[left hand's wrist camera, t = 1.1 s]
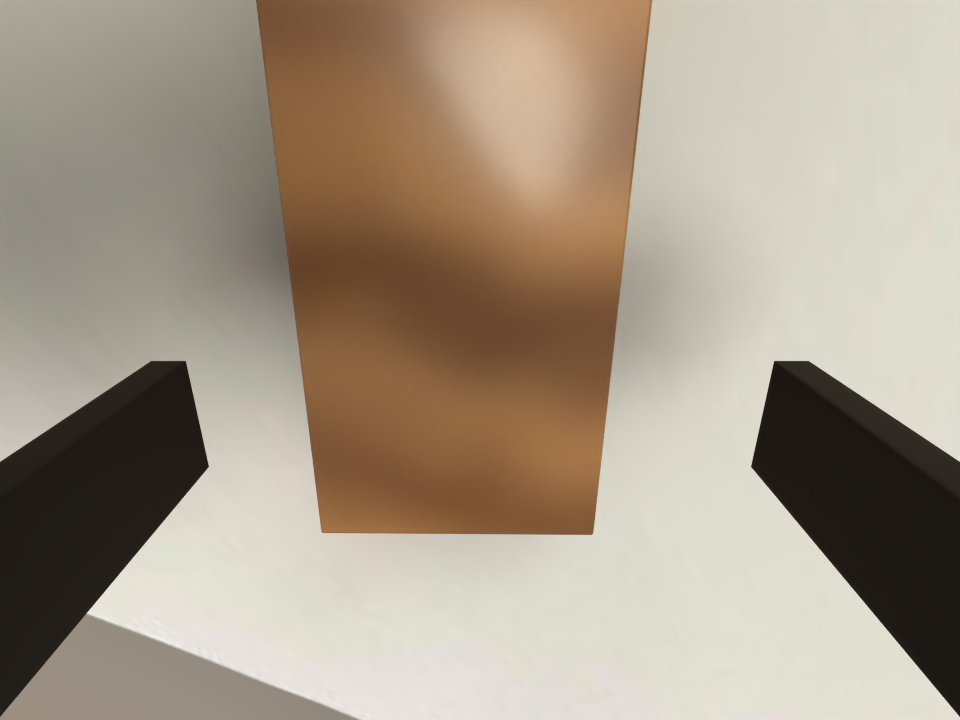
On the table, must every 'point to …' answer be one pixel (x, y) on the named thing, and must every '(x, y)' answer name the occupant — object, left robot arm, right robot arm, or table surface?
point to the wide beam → (455, 250)
